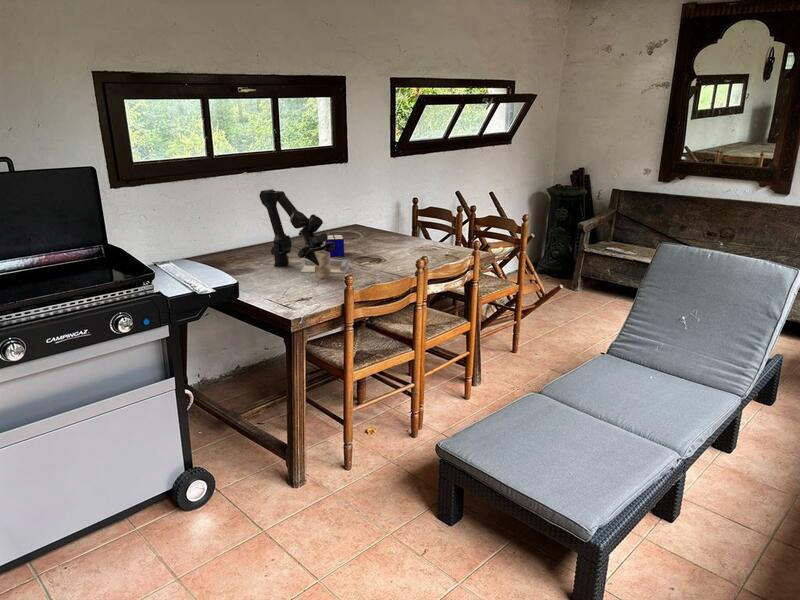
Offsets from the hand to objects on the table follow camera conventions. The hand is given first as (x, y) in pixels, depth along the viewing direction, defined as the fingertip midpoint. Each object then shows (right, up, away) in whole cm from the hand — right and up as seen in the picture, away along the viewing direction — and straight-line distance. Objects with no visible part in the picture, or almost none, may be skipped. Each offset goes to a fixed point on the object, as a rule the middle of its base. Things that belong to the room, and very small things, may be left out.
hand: (324, 264), depth 290 cm
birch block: (-1, -6, +3) cm, 7 cm away
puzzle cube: (0, +8, +45) cm, 46 cm away
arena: (-1, -2, +16) cm, 16 cm away
